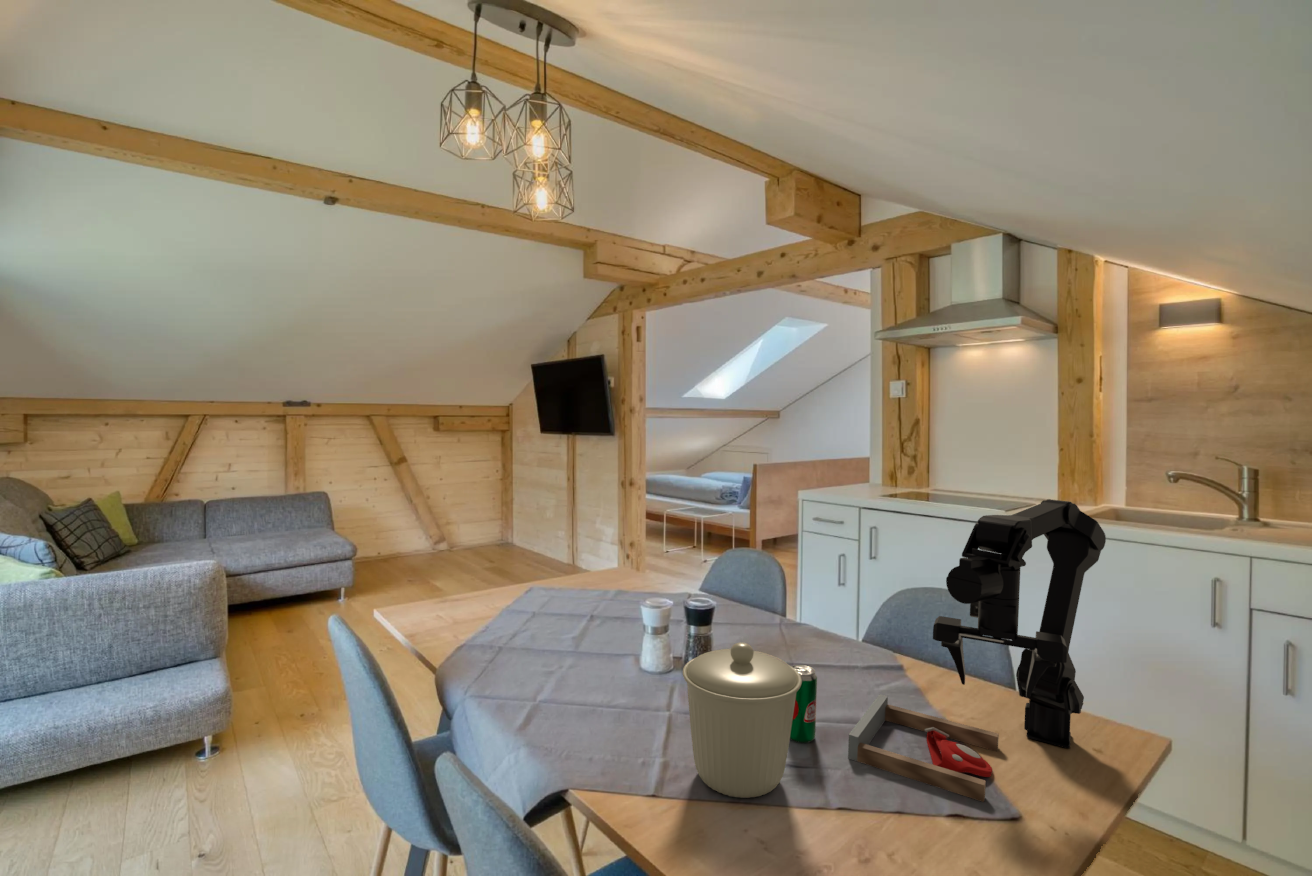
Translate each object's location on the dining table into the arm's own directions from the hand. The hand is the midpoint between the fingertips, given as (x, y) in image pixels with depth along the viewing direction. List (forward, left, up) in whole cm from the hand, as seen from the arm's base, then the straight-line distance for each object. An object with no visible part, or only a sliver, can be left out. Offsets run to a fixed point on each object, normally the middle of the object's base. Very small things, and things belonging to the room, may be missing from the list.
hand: (994, 690), depth 102 cm
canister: (+32, +28, -13) cm, 44 cm away
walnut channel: (+10, +3, -12) cm, 16 cm away
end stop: (+19, +3, -12) cm, 23 cm away
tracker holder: (+5, +2, -13) cm, 14 cm away
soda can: (+29, +10, -13) cm, 33 cm away
